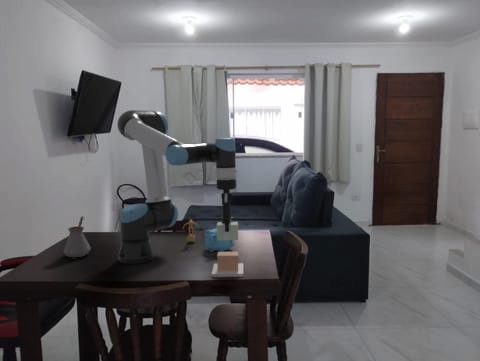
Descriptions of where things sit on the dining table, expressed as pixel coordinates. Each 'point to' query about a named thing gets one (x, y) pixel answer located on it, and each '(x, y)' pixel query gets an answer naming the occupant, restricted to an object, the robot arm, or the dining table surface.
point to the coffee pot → (76, 242)
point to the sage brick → (233, 231)
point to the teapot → (216, 241)
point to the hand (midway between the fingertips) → (227, 237)
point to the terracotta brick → (227, 261)
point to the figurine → (191, 237)
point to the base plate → (227, 272)
